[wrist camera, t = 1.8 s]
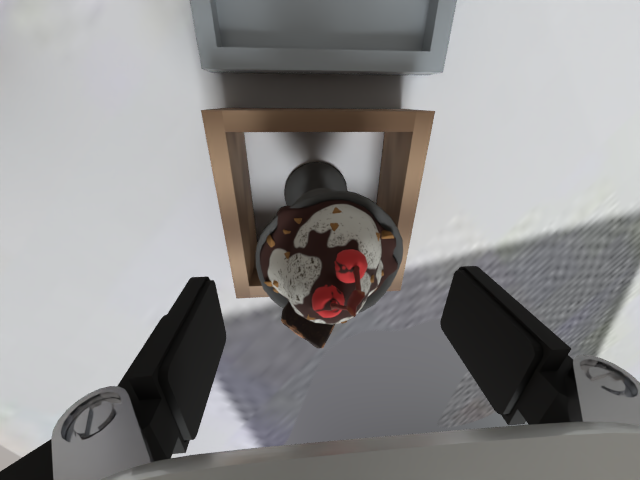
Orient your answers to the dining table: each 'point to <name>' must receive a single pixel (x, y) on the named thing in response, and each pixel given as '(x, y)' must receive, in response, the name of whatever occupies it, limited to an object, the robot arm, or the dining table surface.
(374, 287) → the sundae
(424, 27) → the tray
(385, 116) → the holder
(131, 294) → the dining table surface
